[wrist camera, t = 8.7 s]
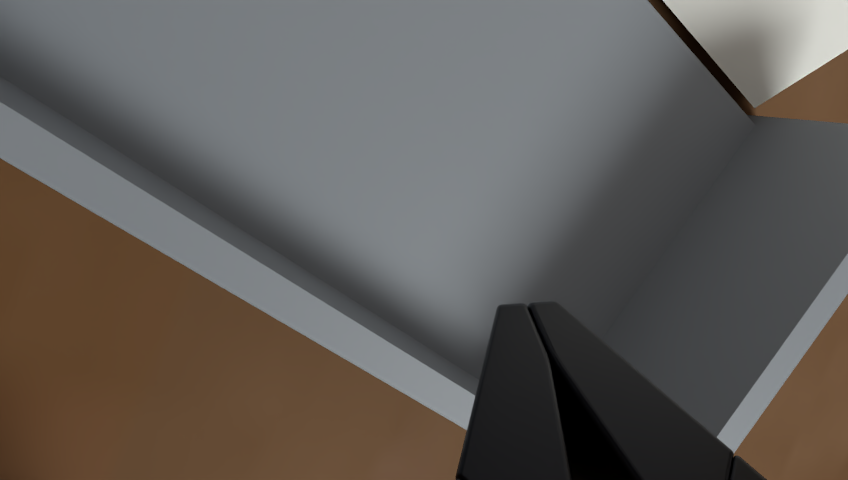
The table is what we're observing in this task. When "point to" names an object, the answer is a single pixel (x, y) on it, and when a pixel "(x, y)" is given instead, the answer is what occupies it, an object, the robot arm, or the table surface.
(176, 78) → the carton
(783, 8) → the flap
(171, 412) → the table surface
